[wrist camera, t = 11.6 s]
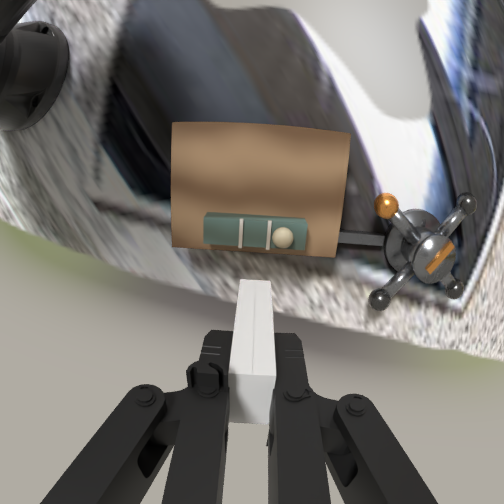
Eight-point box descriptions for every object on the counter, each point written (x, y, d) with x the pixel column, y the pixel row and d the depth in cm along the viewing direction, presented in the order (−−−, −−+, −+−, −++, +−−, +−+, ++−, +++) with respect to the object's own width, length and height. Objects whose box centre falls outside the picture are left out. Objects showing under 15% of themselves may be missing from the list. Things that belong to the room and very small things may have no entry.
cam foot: (311, 196, 32) (314, 200, 30) (444, 212, 31) (453, 217, 30) (303, 265, 34) (305, 273, 33) (430, 272, 34) (437, 279, 33)
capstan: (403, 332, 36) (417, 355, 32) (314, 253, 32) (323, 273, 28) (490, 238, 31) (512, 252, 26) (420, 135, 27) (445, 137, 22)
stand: (184, 123, 29) (160, 120, 22) (338, 133, 29) (362, 133, 22) (182, 232, 33) (161, 260, 26) (326, 242, 33) (343, 272, 26)
